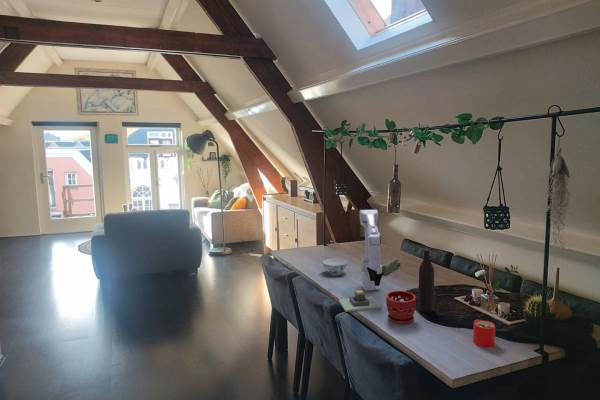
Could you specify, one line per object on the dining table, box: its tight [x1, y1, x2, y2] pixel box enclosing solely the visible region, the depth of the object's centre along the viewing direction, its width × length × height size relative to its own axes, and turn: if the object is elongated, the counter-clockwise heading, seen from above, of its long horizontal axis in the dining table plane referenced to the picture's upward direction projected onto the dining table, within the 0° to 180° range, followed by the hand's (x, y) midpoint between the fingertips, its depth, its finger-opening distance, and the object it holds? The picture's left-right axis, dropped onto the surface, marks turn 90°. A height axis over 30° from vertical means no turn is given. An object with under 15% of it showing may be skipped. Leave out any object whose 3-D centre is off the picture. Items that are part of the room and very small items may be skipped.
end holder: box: [338, 296, 382, 313], centre depth 210 cm, size 14×18×3 cm
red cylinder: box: [472, 319, 496, 349], centre depth 169 cm, size 8×12×8 cm, turn 6°
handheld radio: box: [381, 256, 401, 277], centre depth 264 cm, size 7×3×25 cm
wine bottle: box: [418, 248, 435, 313], centre depth 198 cm, size 7×7×30 cm
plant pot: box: [385, 290, 417, 325], centre depth 189 cm, size 13×13×12 cm
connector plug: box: [354, 289, 366, 302], centre depth 209 cm, size 4×4×6 cm
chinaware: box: [322, 258, 348, 276], centre depth 260 cm, size 15×15×8 cm
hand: (374, 283), depth 214 cm, fingers open, 7 cm apart
